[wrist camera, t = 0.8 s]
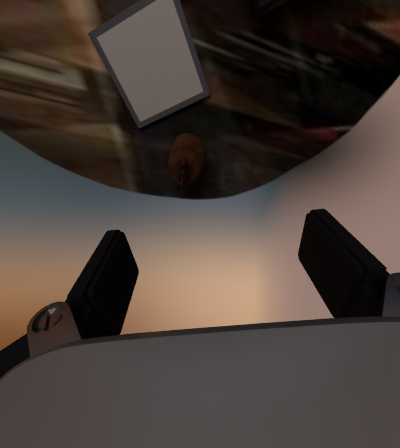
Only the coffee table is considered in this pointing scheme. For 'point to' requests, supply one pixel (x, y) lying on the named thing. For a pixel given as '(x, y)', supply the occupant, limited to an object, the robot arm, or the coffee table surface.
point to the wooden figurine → (186, 159)
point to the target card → (151, 59)
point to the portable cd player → (265, 6)
